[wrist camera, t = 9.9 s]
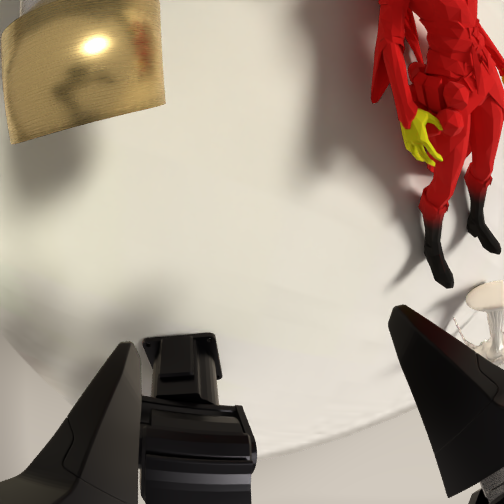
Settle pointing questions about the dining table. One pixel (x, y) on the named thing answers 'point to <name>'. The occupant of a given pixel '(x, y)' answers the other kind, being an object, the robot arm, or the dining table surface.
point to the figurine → (444, 107)
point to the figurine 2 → (489, 319)
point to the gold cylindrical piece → (80, 63)
